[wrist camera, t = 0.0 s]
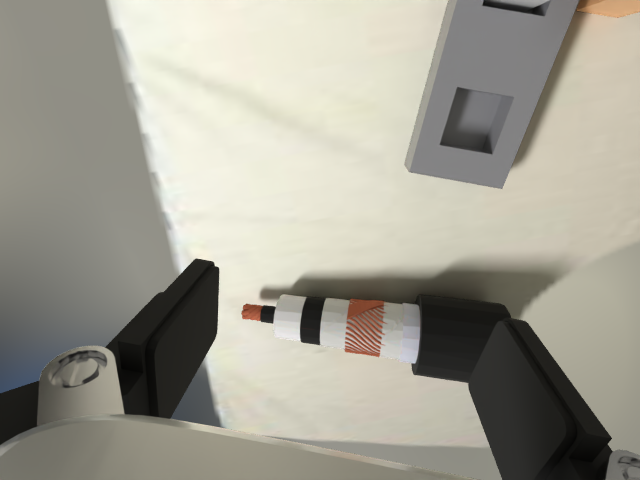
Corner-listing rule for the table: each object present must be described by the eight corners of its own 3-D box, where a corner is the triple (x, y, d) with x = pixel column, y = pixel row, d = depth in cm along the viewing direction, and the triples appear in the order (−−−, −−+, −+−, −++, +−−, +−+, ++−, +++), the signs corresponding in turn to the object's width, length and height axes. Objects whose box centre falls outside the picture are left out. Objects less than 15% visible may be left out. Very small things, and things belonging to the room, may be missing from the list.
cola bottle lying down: (254, 263, 49) (224, 302, 41) (496, 288, 44) (523, 340, 35) (259, 317, 54) (233, 363, 45) (480, 347, 48) (501, 406, 39)
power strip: (477, -108, 29) (532, -198, 20) (592, -90, 29) (701, -172, 20) (404, 164, 39) (418, 187, 30) (488, 179, 39) (528, 207, 30)
